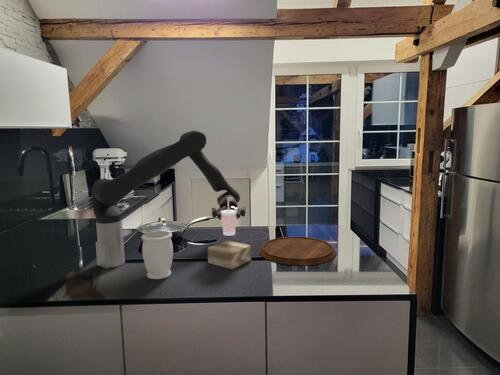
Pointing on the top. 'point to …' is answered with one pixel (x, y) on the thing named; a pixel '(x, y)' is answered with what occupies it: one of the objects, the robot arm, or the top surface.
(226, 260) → the wooden riser
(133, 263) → the top surface
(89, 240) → the top surface
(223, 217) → the beverage cup
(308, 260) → the cutting board
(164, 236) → the jar
